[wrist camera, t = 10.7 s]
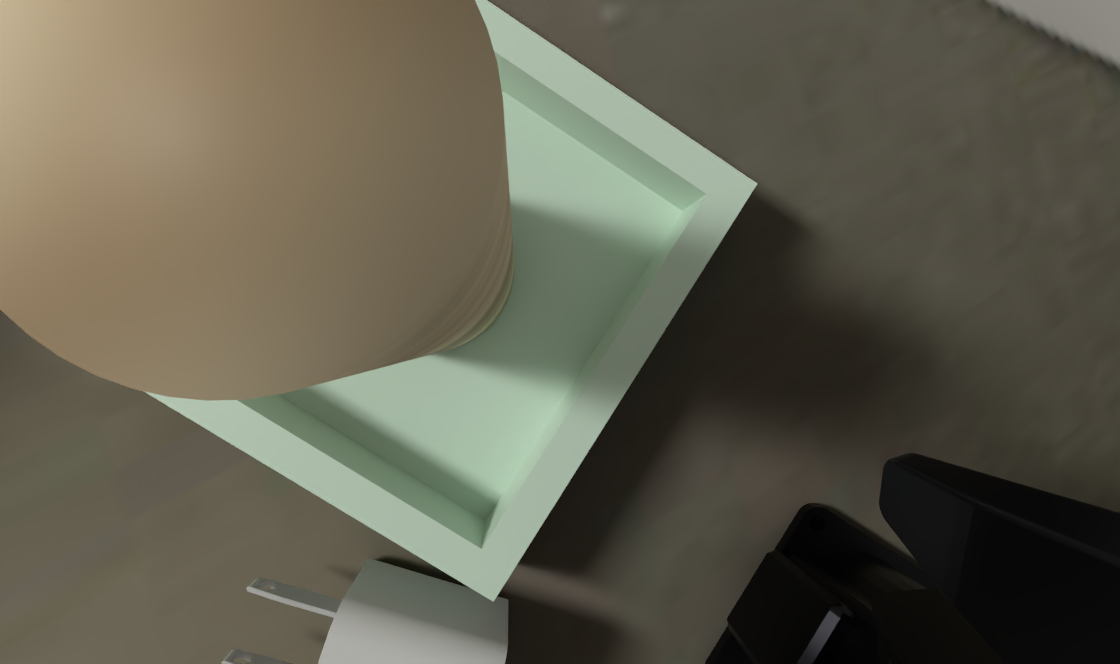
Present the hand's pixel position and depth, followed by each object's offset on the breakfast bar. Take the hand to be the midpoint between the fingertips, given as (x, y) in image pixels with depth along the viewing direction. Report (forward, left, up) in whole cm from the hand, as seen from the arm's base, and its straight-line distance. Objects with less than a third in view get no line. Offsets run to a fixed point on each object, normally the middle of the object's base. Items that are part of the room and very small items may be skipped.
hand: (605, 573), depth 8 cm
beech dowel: (+6, -2, -10) cm, 12 cm away
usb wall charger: (+1, +8, -11) cm, 14 cm away
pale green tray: (+6, -2, -11) cm, 13 cm away
